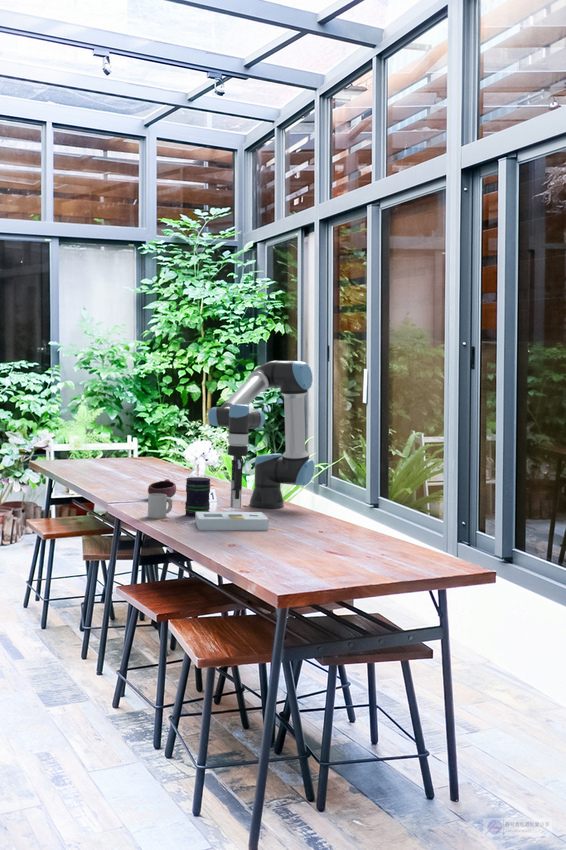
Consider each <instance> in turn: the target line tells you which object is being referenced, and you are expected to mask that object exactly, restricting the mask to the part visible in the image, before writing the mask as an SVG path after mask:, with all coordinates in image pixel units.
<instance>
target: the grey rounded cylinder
mask: <svg viewBox="0 0 566 850" xmlns="http://www.w3.org/2000/svg"><path fill="white" fill-rule="evenodd" d="M230 481H231V480H230ZM232 489H234V480H232V481H231V482H230V508H233V490H232ZM242 489H243V488H242ZM242 489H241V492H242ZM241 507H242V495H241V496H240V508H241Z"/></svg>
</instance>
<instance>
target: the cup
mask: <svg viewBox="0 0 566 850" xmlns="http://www.w3.org/2000/svg"><path fill="white" fill-rule="evenodd" d="M167 506H168V507H167ZM172 510H173V500H172V498H169V497H167V495H166V494H157V493H156V494H149V493H148V502H147V517H148V518H149V519H155V520H156V519H157V520H158V519H159V520H161V519H165V518H166V517H167V514H169V513H170V512H172Z"/></svg>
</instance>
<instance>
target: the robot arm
mask: <svg viewBox="0 0 566 850" xmlns="http://www.w3.org/2000/svg"><path fill="white" fill-rule="evenodd" d="M312 384H313V372H312V369H311V367H310V365H309V364H308V363H307V362H304V361H298V360H271V361H268V362H266V363H262V364H261V365H260V366H258V367H256V368H255V369H254V370H253V371H252V372H251V373H250V374H249V375H248V378H247V380H246V381H245V382H244V383H243V384H242V385H241V386H240V387H239V388H238V389H237V390H236V391H235V392H234V393H233V394H232V395H231V396H230V397H229V398H228V399H227V400H226V401H225V402H224V403H223V404H222V405H221V406H213V407H211V408H210V409H209V411H208V413H207V420H208V423H209V424H210V425H211V426H215V427H218V428H220V427H223V428H224V427H225V428H228V435H226V439H228V440H227V441H228V442H227V443H228V446H227V455H228V456H232V457H233V459H231V480H230V481H232V480H234V489H232V490H233V508H235V509H240V508H241V507H240V496H241V497H242V491H241V489H243V488H242V487H243V485H242V484H243V466H244V461H243V460H242V457H246V456H248V449H249V447H248V444H249V430H250V429H252V430H256V429H259V428H262V427H263V426H264V425H265V422H266V416H265V414H264V412H263V411H262V410H260V409H257V408H251V409H250V404H251V403H252V402H253V401H254V400H255V399H256V397H258V396H259V395H260V393H263V392H266V391H267V390H268V389H272V388H275V389H279V391H280V392H279V393H280V394H281V396H283V401H284V402H283V403H284V434H285V435H284V439H285V441H284V442H285V452H284V453H283V454H282V453H267V454H259V455H256V457H255V460H254V461H255V462H254V484H253V485H254V488H253V490H252V494H251V495H250V499H249V506H251V507H255V508H262V509H278V508H283V507H284V506H285V501H284V497H283V494H282V493H283V492H282V489H281V486H282V485H292V486H297V487H298V486H305V487H306V486H308V485H309V483H311V482H312V480H313V477H314V473H315V462H314V460H313V459H312V458H310V453H308V452H307V451H306V424H305V423H306V421H305V420H306V419H305V417H306V416H305V396H306V394H308V390H309V389H310V388H311V387H312Z"/></svg>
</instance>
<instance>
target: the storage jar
mask: <svg viewBox="0 0 566 850" xmlns="http://www.w3.org/2000/svg"><path fill="white" fill-rule="evenodd" d="M185 493H186V499H185V503H184V504H185V508H184V509H185V515H184V516H185V517H189V518H195V514H196V512H210V508H211V505H210V503H211V502H210V493H211V478H208V477H202V476H201V477H199V476H198V477H197V476H196V477H194V476H193V477H187V478H186V483H185Z"/></svg>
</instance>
